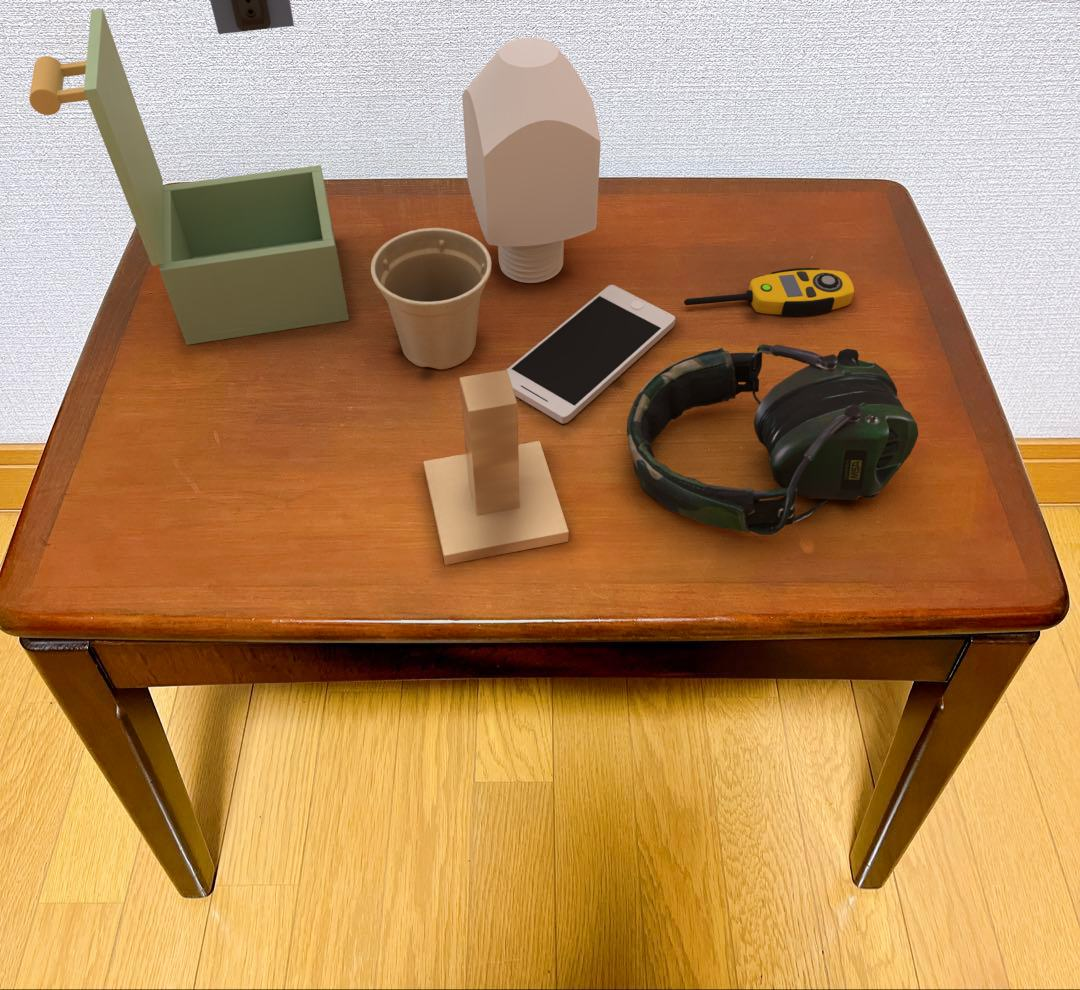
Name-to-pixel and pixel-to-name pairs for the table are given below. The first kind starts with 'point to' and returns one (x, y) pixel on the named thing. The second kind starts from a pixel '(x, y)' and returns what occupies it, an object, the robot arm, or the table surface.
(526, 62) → the light fixture
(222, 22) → the block
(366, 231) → the table surface
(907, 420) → the headphones
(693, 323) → the table surface
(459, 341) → the flower pot
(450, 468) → the post
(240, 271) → the chest
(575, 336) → the smartphone
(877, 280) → the table surface
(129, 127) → the lid
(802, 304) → the yellow walkie talkie
